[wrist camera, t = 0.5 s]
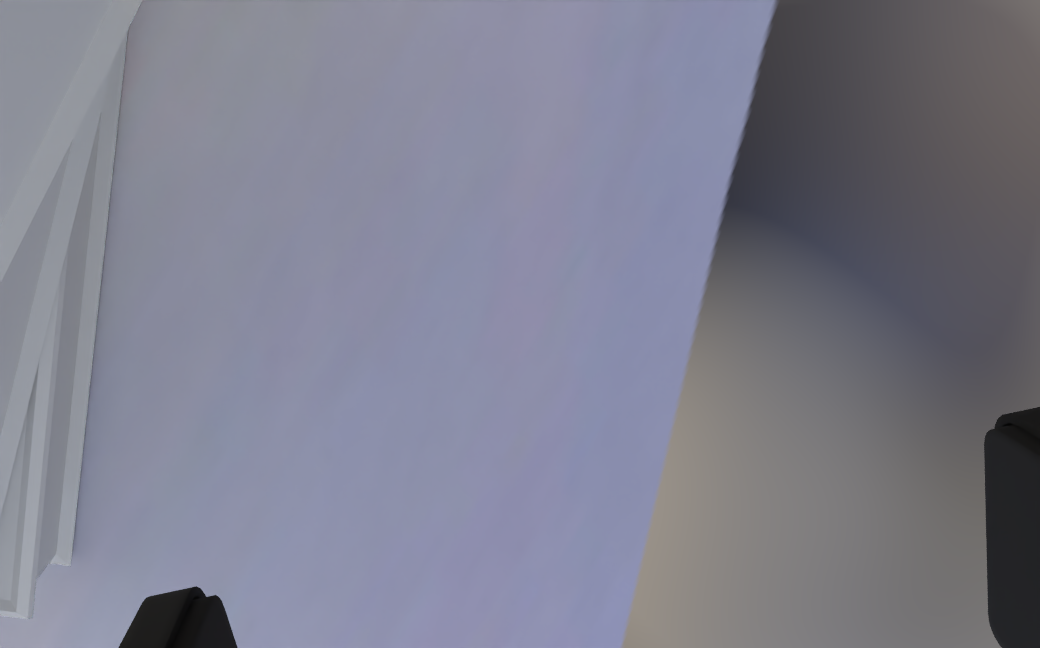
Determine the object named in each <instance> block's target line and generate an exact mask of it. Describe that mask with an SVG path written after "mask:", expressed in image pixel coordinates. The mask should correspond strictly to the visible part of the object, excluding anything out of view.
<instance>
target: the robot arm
mask: <svg viewBox="0 0 1040 648" xmlns="http://www.w3.org/2000/svg"><path fill="white" fill-rule="evenodd" d="M984 450H985V451H984V452H985V495H986V537H987V579H988V615H989V622H990V626H991V629H992V631H993V634H994V636H995V638H996V640H997V641H998V643H999V645H1000V646H1001V647H1002V648H1040V407H1037V408H1033V409H1028V410H1024V411H1019V412H1014V413H1009V414H1005V415H1002V416H1001V417H999V418H998V420H997V422H996V424H995V429H992V430H990V431H988V432H987V434H986V436H985V442H984ZM119 648H237V645H236V642H235V639H234V636H233V633H232V630H231V627H230V624H229V621H228V618H227V614H226V611H225V608H224V606H223V603H222V601H221V600H220V598H219V597H218V596H216V595H214V596H209V597H206V596H205V594H204V593H203V591H202V590H201V589H200V588H198V587H192V588H187V589H183V590H178V591H173V592H168V593H164V594H159V595H154V596H150V597H147V598H146V599H145V600H144V601H143V603H142V605H141V606H140V608H139V610H138V612H137V614H136V616H135V618H134V620H133V622H132V623H131V625H130V627H129V629H128V631H127V633H126V635H125V637H124V638H123V640H122V642H121V644H120V646H119Z"/></svg>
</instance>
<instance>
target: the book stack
mask: <svg viewBox="0 0 1040 648" xmlns="http://www.w3.org/2000/svg"><path fill="white" fill-rule="evenodd" d="M141 2H142V0H0V616H4V617H13V618H21V619H31V618H33V610H34V600H35V590H36V580H37V578H38V577H39V576H40V574H41V573H42V572H43V571H44V569H45V568H46V567H47V565H48V564H57V565H64V566H71V557H72V548H73V539H74V529H75V520H76V511H77V501H78V492H79V483H80V473H81V464H82V455H83V445H84V436H85V427H86V417H87V408H88V399H89V389H90V380H91V371H92V361H93V352H94V343H95V333H96V324H97V315H98V305H99V296H100V287H101V277H102V268H103V259H104V249H105V240H106V231H107V221H108V212H109V203H110V193H111V184H112V175H113V165H114V156H115V147H116V138H117V128H118V119H119V110H120V100H121V91H122V82H123V72H124V63H125V54H126V44H127V35H128V28H129V26H130V24H131V22H132V20H133V18H134V16H135V14H136V12H137V10H138V8H139V6H140V4H141Z"/></svg>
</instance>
